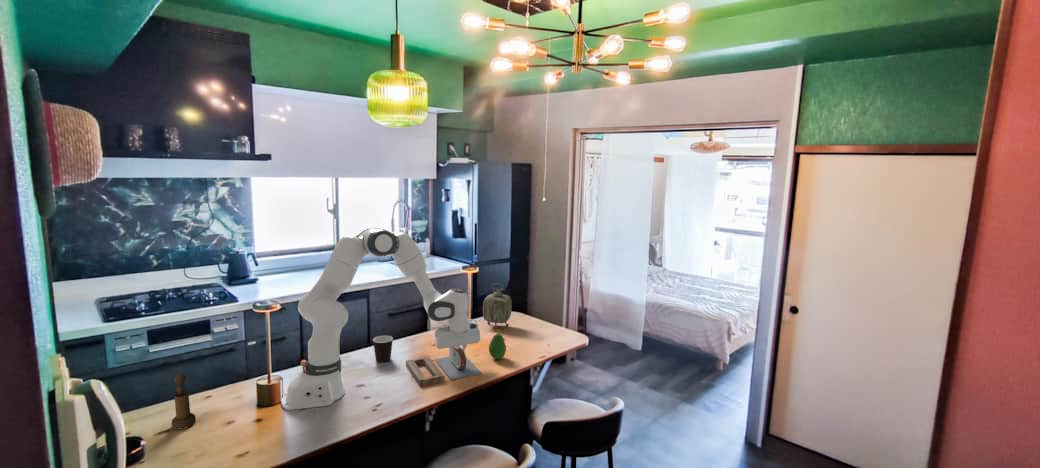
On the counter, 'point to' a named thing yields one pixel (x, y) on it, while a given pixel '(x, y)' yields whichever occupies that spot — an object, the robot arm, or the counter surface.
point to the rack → (431, 367)
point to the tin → (458, 358)
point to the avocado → (497, 347)
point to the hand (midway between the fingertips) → (457, 354)
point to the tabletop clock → (497, 307)
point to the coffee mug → (383, 348)
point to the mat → (454, 372)
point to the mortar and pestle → (182, 406)
